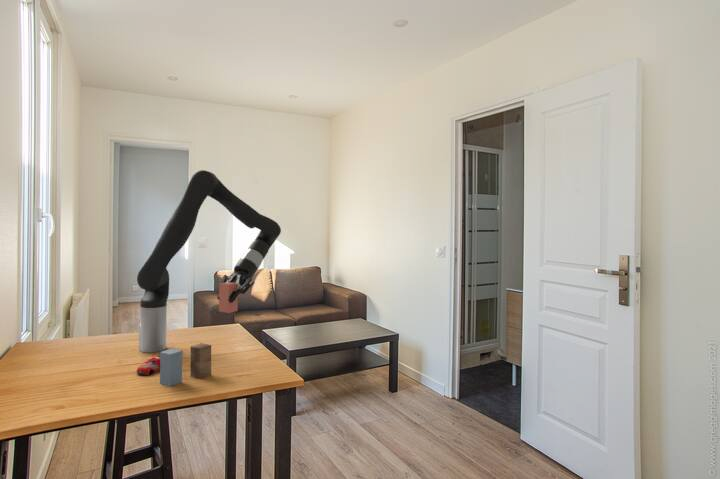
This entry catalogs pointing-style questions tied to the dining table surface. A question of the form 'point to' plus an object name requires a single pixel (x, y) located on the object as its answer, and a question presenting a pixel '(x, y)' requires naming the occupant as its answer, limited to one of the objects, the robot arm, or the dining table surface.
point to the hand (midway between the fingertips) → (224, 300)
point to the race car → (149, 366)
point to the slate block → (170, 367)
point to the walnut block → (200, 361)
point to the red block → (224, 294)
